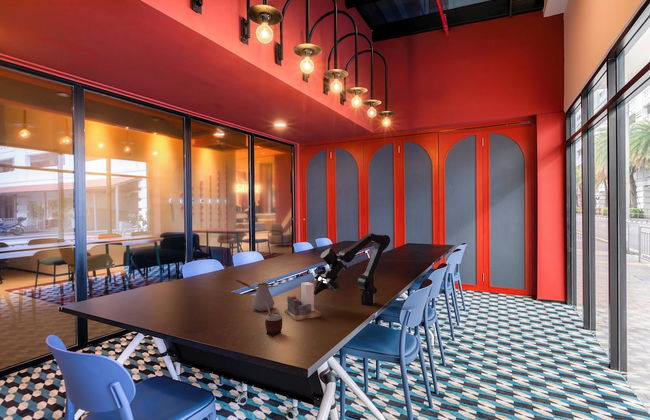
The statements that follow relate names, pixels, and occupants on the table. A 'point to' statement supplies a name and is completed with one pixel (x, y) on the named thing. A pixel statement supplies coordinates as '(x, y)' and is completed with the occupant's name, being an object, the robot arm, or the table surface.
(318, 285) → the robot arm
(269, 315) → the mate gourd
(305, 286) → the white tall block
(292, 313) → the stepped stone block model
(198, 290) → the table surface
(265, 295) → the coffee pot
